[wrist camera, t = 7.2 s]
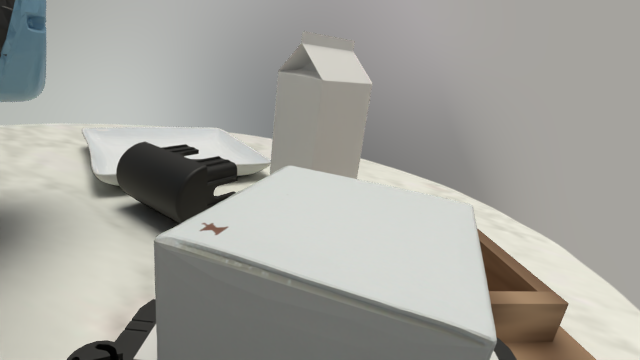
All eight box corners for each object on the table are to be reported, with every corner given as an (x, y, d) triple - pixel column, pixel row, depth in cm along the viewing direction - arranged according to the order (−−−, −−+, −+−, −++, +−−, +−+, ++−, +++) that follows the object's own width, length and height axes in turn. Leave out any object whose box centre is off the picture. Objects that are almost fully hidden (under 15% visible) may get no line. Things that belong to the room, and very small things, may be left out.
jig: (346, 389, 19) (358, 327, 18) (309, 242, 34) (314, 202, 33) (592, 378, 22) (619, 323, 21) (460, 246, 37) (470, 210, 36)
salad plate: (274, 182, 50) (276, 159, 49) (96, 202, 37) (94, 172, 36) (219, 144, 66) (219, 125, 65) (82, 149, 53) (79, 126, 52)
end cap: (117, 209, 36) (112, 144, 34) (178, 192, 42) (178, 136, 40) (177, 245, 31) (176, 172, 29) (238, 221, 37) (241, 158, 35)
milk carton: (351, 214, 42) (379, 42, 36) (305, 227, 37) (328, 32, 31) (312, 193, 47) (331, 39, 40) (267, 203, 42) (280, 29, 36)
